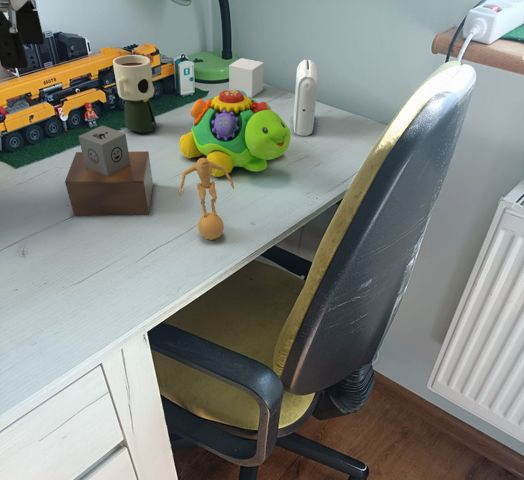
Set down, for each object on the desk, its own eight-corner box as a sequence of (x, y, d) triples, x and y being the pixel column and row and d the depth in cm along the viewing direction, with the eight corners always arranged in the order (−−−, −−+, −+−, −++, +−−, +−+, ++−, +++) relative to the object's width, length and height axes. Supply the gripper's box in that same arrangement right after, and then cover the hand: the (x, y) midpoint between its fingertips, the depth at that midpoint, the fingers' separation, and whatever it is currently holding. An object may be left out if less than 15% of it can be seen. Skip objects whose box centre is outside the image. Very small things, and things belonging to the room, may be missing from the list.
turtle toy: (243, 201, 88) (243, 133, 79) (170, 151, 100) (163, 87, 92) (315, 172, 96) (322, 107, 87) (238, 129, 108) (238, 68, 99)
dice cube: (85, 167, 82) (78, 136, 79) (108, 155, 85) (102, 125, 82) (108, 176, 81) (101, 145, 77) (130, 164, 83) (125, 133, 80)
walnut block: (74, 215, 83) (64, 181, 79) (84, 185, 90) (75, 151, 86) (148, 214, 84) (143, 180, 80) (153, 184, 91) (148, 151, 87)
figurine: (188, 248, 78) (181, 174, 69) (180, 227, 82) (172, 154, 73) (240, 240, 80) (240, 167, 71) (230, 219, 84) (228, 148, 75)
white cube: (263, 89, 124) (264, 62, 120) (251, 97, 120) (252, 70, 116) (241, 84, 126) (241, 57, 121) (229, 92, 122) (228, 65, 117)
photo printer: (313, 137, 106) (319, 72, 97) (292, 136, 106) (297, 71, 97) (312, 116, 113) (318, 54, 104) (293, 115, 113) (297, 53, 104)
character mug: (144, 142, 102) (134, 72, 93) (112, 136, 104) (99, 66, 94) (168, 121, 110) (161, 54, 100) (138, 116, 111) (129, 49, 102)
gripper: (-31, -126, 62) (11, 34, 74) (-85, -111, 50) (-25, 77, 63) (34, -122, 63) (65, 36, 75) (-5, -106, 51) (39, 79, 63)
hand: (24, 54), depth 69 cm, fingers open, 9 cm apart
